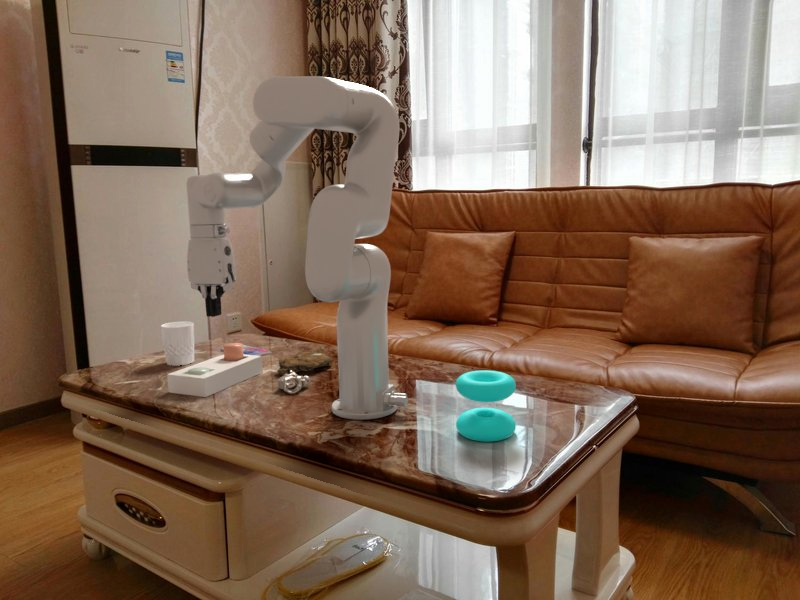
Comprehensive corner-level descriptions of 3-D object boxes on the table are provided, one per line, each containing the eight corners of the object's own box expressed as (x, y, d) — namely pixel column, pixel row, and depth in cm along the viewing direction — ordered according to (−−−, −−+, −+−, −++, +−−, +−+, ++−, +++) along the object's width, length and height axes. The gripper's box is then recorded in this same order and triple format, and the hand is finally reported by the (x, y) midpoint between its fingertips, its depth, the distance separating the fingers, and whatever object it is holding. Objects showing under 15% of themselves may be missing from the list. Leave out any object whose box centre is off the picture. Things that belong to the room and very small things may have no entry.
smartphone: (242, 343, 177) (273, 351, 167) (242, 347, 177) (273, 355, 167) (219, 348, 172) (249, 356, 162) (219, 351, 172) (249, 360, 162)
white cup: (190, 366, 155) (187, 327, 154) (159, 367, 156) (155, 327, 154) (200, 358, 163) (198, 321, 162) (171, 359, 163) (167, 321, 162)
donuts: (448, 370, 109) (502, 366, 111) (449, 425, 110) (502, 420, 112) (466, 387, 99) (525, 382, 101) (466, 447, 101) (525, 440, 103)
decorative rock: (307, 382, 141) (339, 368, 155) (308, 364, 141) (340, 351, 154) (265, 375, 146) (300, 361, 159) (265, 358, 145) (300, 346, 159)
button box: (262, 372, 148) (261, 355, 148) (205, 397, 130) (204, 378, 129) (228, 368, 152) (227, 352, 151) (168, 392, 134) (167, 374, 133)
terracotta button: (247, 360, 147) (246, 343, 146) (235, 364, 143) (234, 347, 143) (232, 358, 149) (231, 342, 148) (220, 363, 145) (219, 346, 144)
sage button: (214, 385, 137) (213, 368, 136) (200, 391, 133) (199, 373, 132) (198, 384, 138) (197, 366, 138) (184, 389, 134) (183, 371, 134)
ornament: (313, 393, 132) (313, 376, 131) (281, 397, 130) (280, 380, 129) (307, 383, 139) (306, 367, 139) (275, 386, 137) (275, 370, 137)
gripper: (247, 231, 137) (252, 314, 140) (192, 232, 142) (198, 311, 145) (225, 233, 130) (231, 320, 133) (168, 234, 135) (175, 317, 138)
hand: (214, 315), depth 139 cm, fingers closed
